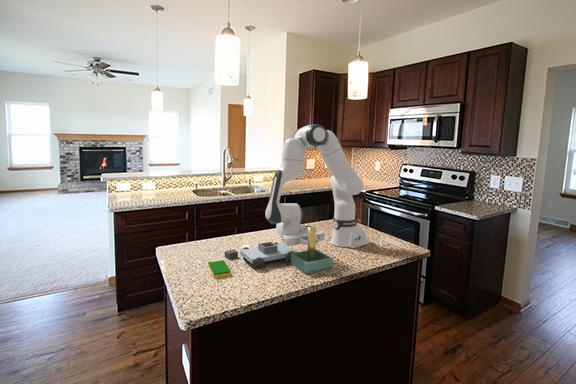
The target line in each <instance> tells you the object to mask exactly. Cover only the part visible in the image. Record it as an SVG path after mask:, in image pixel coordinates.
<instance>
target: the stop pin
mask: <svg viewBox="0 0 576 384" xmlns="http://www.w3.org/2000/svg"><path fill="white" fill-rule="evenodd" d="M310 226H311V227H308V241H309V245H307V250H308V253H307V260H308V261H315V256H316V249H317V248H316V247H317V246H316V245H317V243H316V229H317V227H316V226H313V225H310ZM312 226H313V227H312Z"/></svg>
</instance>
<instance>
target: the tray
mask: <svg viewBox="0 0 576 384" xmlns="http://www.w3.org/2000/svg"><path fill="white" fill-rule="evenodd" d="M295 252H296V251H295ZM307 253H308V249H307V250H303V251H297V252H296V253H291V263H290V265H292V266H293V267H294V268H296V269H297V270H298V271H300V272H301V273H303V274H304V275H306V276H307V275H311V274H316V273H319V272H325V271H328V270H329V271H330V270H333V263H334V260H333V259H334V258H333V257H332V256H330V255H328V254H326V253H324V252H322V251H320V250H318V249H317V248H316V256H315V261H308V260H307Z"/></svg>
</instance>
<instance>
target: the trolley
mask: <svg viewBox="0 0 576 384" xmlns="http://www.w3.org/2000/svg"><path fill="white" fill-rule="evenodd" d="M239 251H240V252H239V253H240V255H241V257H242V258H244V259H246V260H247V261H248V262H249V263H250V264H252V266H253V267H254V269H256V270H260V269H262V268H264V266H265V262H269V261H270V262H271V261H275V260H276V261H277V260H279V259H280V260H281V259H284V258H285V262H287V263H289V264H291V253H296V251H295V250H294V249H292V248H290V246H287V245H285V244H284V243H283V242H281V243H278V242H272V241H268V242H260V243H258V245H257V247H250V248H249V247H248V246H247V247H246V246H245V247H243V248H241V249H240V250H239Z"/></svg>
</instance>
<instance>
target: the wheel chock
mask: <svg viewBox="0 0 576 384" xmlns="http://www.w3.org/2000/svg"><path fill="white" fill-rule="evenodd" d="M238 257H239V251H238V250H236V249H230V250H224V258H226V259H227V260H231V259H235V258H238Z"/></svg>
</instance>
